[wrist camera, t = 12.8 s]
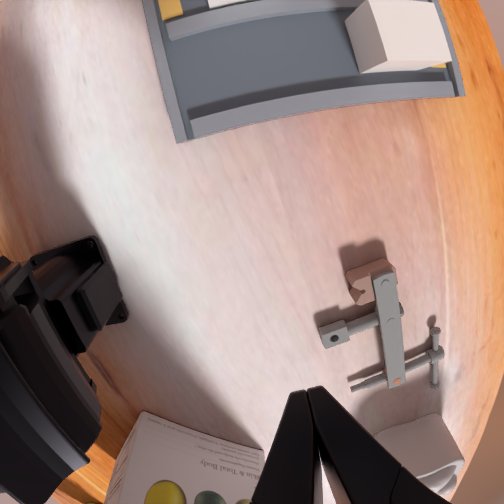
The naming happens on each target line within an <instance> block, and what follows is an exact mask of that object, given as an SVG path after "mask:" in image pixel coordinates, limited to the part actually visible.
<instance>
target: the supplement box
mask: <svg viewBox="0 0 504 504" xmlns="http://www.w3.org/2000/svg"><path fill="white" fill-rule="evenodd" d="M264 465H265V457H264V451H262V450H258V449H254V448H250V447H246V446H243V445H239V444H236V443H232V442H229V441H226V440H222V439H219V438H216V437H213V436H210V435H207V434H204V433H201V432H198V431H195V430H192V429H189V428H186V427H184V426H181V425H178V424H176V423H173V422H170V421H168V420H165V419H163V418H160V417H158V416H155V415H153V414H150V413H148V412H145V411H142V412H141V414H140V415H139V417H138V419H137V421H136V423H135V425H134V427H133V428H132V430H131V432H130V434H129V436H128V438H127V440H126V441H125V443H124V445H123V447H122V449H121V451H120V453H119V455H118V457H117V459H116V461H115V465H114V470H113V473H112V477H111V480H110V484H109V487H108V491H107V494H106V498H105V502H104V504H249V503H250V502H252V501H251V498H252V496H253V493H254V491H255V488H256V486H257V483H258V481H259V478H260V475H261V473H262V470H263V468H264Z"/></svg>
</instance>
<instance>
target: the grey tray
mask: <svg viewBox="0 0 504 504" xmlns="http://www.w3.org/2000/svg"><path fill="white" fill-rule="evenodd" d="M364 1H365V0H254V1H249V2H243V3H238V4H233V5H228V6H224V7H220V8H215V9H211V10H210V7H209V4H208V0H142V2H143V7H144V12H145V16H146V21H147V25H148V30H149V34H150V39H151V43H152V48H153V52H154V56H155V60H156V65H157V69H158V73H159V77H160V81H161V85H162V89H163V93H164V97H165V101H166V105H167V109H168V113H169V117H170V121H171V124H172V128H173V132H174V136H175V139H176V143H184V142H187V141H190V140H194V139H197V138H201V137H204V136H208V135H212V134H215V133H219V132H223V131H227V130H231V129H235V128H239V127H243V126H247V125H251V124H256V123H260V122H265V121H269V120H274V119H279V118H284V117H289V116H294V115H299V114H304V113H310V112H316V111H322V110H328V109H334V108H341V107H348V106H355V105H363V104H371V103H380V102H390V101H401V100H414V99H429V98H452V97H464V96H466V95H465V90H464V85H463V80H462V76H461V72H460V68H459V64H458V60H457V56H456V53H455V49H454V46H453V42H452V39H451V36H450V32H449V29H448V26H447V23H446V20H445V17H444V15H443V12H442V9H441V6H440V4H439V1H438V0H413V1H423V2H431V3H434V5H435V8H436V11H437V13H438V16H439V19H440V22H441V25H442V28H443V31H444V34H445V38H446V41H447V44H448V48H449V51H450V55H451V58H452V61H450V62H446V63H442V64H438V65H435V66H431V67H427V68H424V69H420V70H411V71H388V72H373V73H361V74H360V72H359V69H358V65H357V61H356V58H355V54H354V51H353V47H352V44H351V41H350V37H349V34H348V31H347V28H346V25H345V22H344V21H345V20H346V19H347V18H348V17H349V16H350V15H351V14H352V13H353V12H354V11H355V10H356V9H357V8H358V7H359V6H360V5H361V4H362V3H363V2H364Z"/></svg>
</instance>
